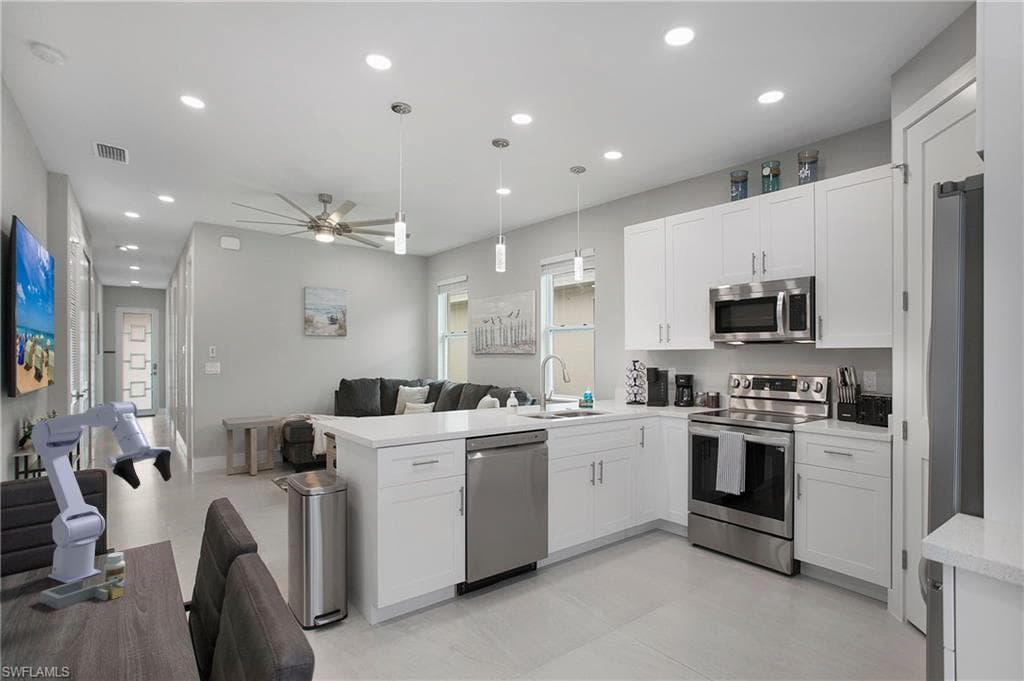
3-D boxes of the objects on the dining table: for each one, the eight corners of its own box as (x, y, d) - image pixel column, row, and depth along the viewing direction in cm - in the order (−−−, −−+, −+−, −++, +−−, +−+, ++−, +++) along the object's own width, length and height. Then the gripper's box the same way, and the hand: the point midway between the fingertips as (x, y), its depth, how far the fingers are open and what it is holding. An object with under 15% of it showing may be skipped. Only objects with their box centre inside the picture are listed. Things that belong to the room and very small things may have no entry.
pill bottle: (105, 589, 130) (107, 558, 130) (100, 584, 132) (102, 554, 133) (126, 583, 133) (128, 553, 134) (120, 579, 136) (122, 550, 136)
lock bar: (98, 594, 127) (99, 587, 127) (109, 590, 129) (109, 583, 129) (112, 599, 124) (112, 591, 124) (123, 595, 126) (123, 588, 126)
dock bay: (39, 602, 122) (40, 590, 122) (97, 583, 133) (98, 572, 133) (67, 613, 117) (68, 601, 117) (125, 593, 128) (125, 581, 128)
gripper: (108, 436, 126) (129, 481, 122) (167, 426, 139) (188, 467, 136) (95, 452, 128) (116, 497, 124) (155, 442, 141) (175, 482, 138)
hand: (153, 482), depth 130 cm, fingers open, 7 cm apart
